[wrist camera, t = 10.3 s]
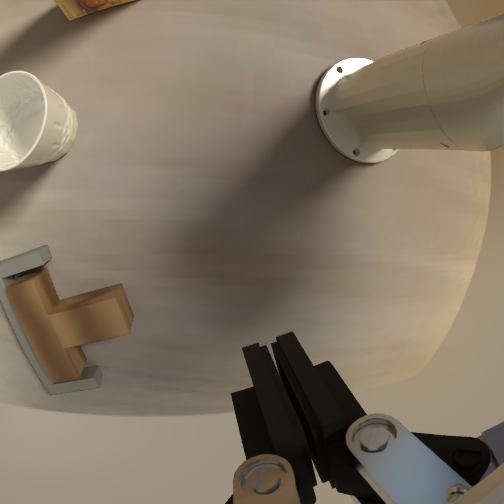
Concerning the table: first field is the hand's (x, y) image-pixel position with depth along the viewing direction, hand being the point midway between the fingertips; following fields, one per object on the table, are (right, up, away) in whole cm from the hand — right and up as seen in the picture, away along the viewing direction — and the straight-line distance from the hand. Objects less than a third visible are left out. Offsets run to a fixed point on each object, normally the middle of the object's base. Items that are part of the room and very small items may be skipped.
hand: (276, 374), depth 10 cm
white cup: (-21, +16, +16) cm, 32 cm away
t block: (-20, -3, +22) cm, 30 cm away
